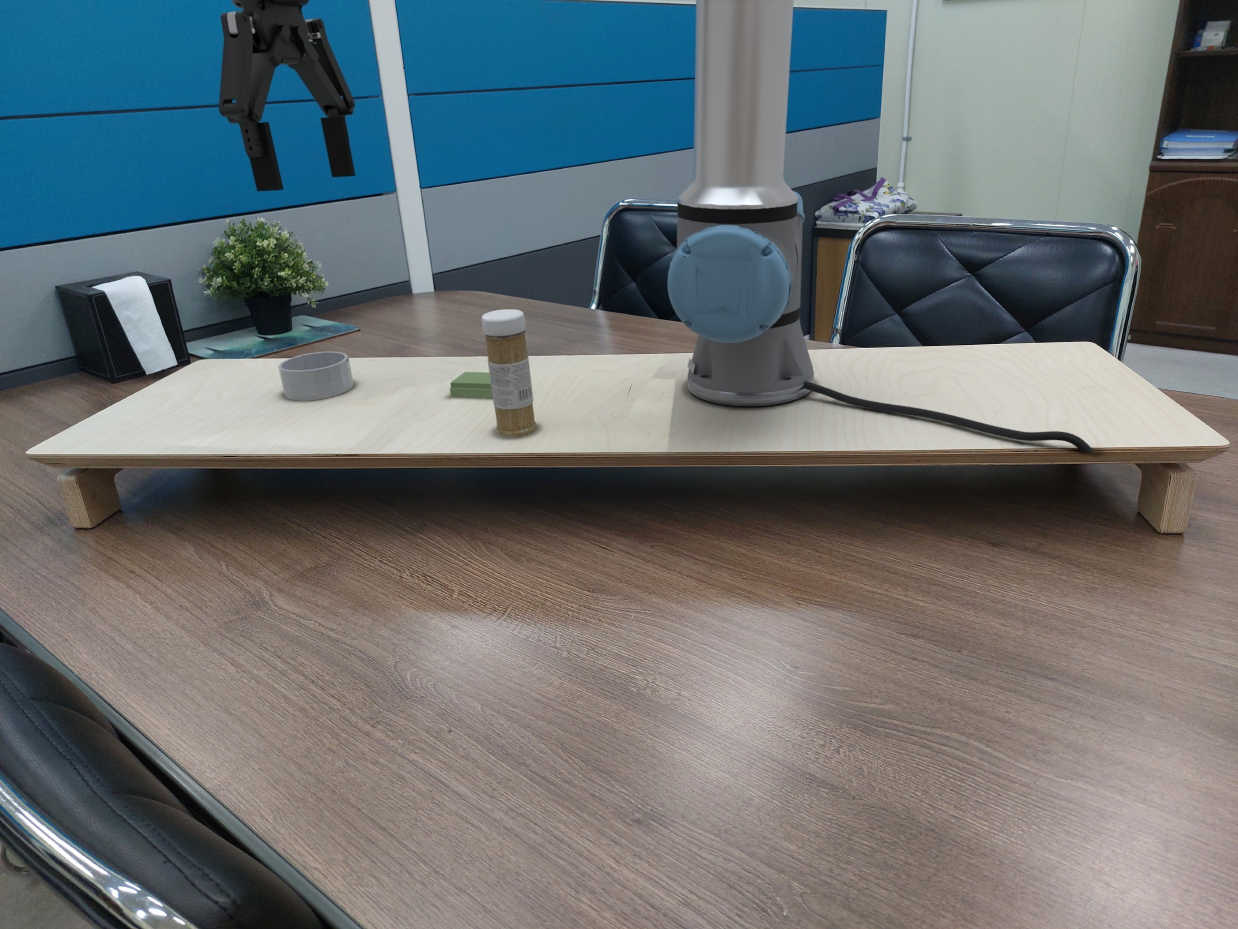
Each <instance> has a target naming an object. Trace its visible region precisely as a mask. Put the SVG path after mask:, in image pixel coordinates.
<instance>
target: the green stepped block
mask: <svg viewBox="0 0 1238 929" xmlns="http://www.w3.org/2000/svg"><path fill="white" fill-rule="evenodd" d="M449 384H450V387H449V391H450V397H451V398H467V399H468V398H469V399H493V396H492V388H491V381H490V373H489V371H488V372H487V371H486V372H485V371H484V372H483V371H464V372H463V373H461V374H460V375H458V376H457V377H456V378H455V379H453V380H452V381H450V383H449Z"/></svg>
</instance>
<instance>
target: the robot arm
mask: <svg viewBox="0 0 1238 929" xmlns="http://www.w3.org/2000/svg"><path fill="white" fill-rule="evenodd" d="M309 2H310V0H231V3H232V4H233V5H234V6H235V7H236V8H239V9H242V10H237V11H228V12H222V13H221V14H220V23H221V29H222V35H223V44H222V45H223V46H222V60H221V73H220V86H219V96H218V98H219V99H218V111H219V114H220V115H221V116H222V117H223V118H226V119H227V122H228V123H229V124H231V125H236V124H238V127H239V130H240V133H241V134H240V135H241V138H242V142H243V146H244V150H245V154H246V155H247V158H249V163H250V167H251V171H252V176H253V181H254V184H255V189H256V192H271V191H283V190H284V183H283V180H282V176H281V171H280V167H279V162H278V158H277V153H276V148H275V144H274V140H273V135H272V130H271V125H270V122H269V121H262V118H263V114H264V112H265V111H264V110H265V107H266V104H267V100H268V97H269V93H270V89H271V85H272V82H273V78H274V75H275V70H276V68H277V67H279V66H280V65H281V66H288V67H289V68H290V69H292V70H294V71H295V72H296V74H297V76H298V77H299V78H300V80H301V81H302V82H303V84H304V86H305V88H306V89H307V90H308V92H309V93H310V94H311V96H312V98H313V99H314V101H315V102H316V104H317V105H318V107H319V108H320V110H321V111H322V113H323V114H324V115H325V116H326V117H320V118H319V119H320V124H321V128H322V133H323V139H324V143H325V148H326V154H327V160H328V163H329V164H328V165H329V168H330V174H331V178H346V177H348V178H350V177H355V176H356V170H355V166H354V160H353V154H352V149H351V145H350V136H349V131H348V126H347V125H348V124H347V120H346V116H353V115H354V109H355V107H356V102H355V99H354V97H353V95H352V93H351V90H350V87H349V85H348V83H347V81H346V79H345V76H344V74H343V72H342V69H341V67H340V65H339V62H338V61H337V58H336V55H335V54H334V51H333V48H332V46H331V44H330V42H329V39H328V35H327V30H326V27H325V23H324V21H323V19H321V18H310V19H305V17H304V14H303V7H304V6H307V4H309ZM793 18H794V0H696V1H695V56H694V60H695V61H694V113H693V115H694V119H693V120H694V121H693V173H692V175H693V178H692V180H691V182H690V184H689V185H688V186H687V187H686V188H685V189H684V190H683V191H682V192H681V193H680V194H679V195H678V197H677V207H676V208H677V209H676V210H677V211H676V212H677V215H676V250H675V252H674V253H673V255H672V259H671V261H670V263H669V269H668V272H667V293H668V298H669V301H670V304H671V306H672V308H673V309H672V310H673V311H674V313H675V314H676V316H677V317H678V319H679V320H680V321H681V322H682V323H683V324H684V325H685V326H686V327H687V328H688V329H689V330H690V331H691V332H693V333H694V334H696V335H698V337H697V340H696V343H695V347H694V350H693V353H692V357H691V358H689V359H688V362H687V368H688V372H687V388H688V391H689V392H690V393H691V394H692V395H694V397H697V398H699V399H701V400H703V401H706V402H710V403H713V404H718V405H724V406H725V405H726V406H734V407H735V406H736V407H763V406H772V405H773V406H774V405H778V404H785V403H788V402H792V401H796V400H798V399H800V398H803V397H804V396H806V395H808V394H809V393H811V392H814V393H817V394H820V395H823V396H826V397H828V398H831V399H833V400H836V401H837V402H838V401H839V402H842V403H844V404H847V405H852V406H855V407H859V408H864V409H869V410H874V411H881V412H887V413H895V414H900V415H907V416H914V417H919V418H925V419H929V420H934V421H939V422H942V423H947V424H950V425H955V426H959V427H963V428H965V429H970V430H974V431H977V432H982V433H984V434H988V435H993V436H996V437H997V436H998V437H1001V438H1007V439H1012V440H1016V441H1024V442H1042V441H1043V442H1045V441H1061V442H1066V443H1069V444H1071V445H1072V446H1074V447H1075V448H1077V449H1078V450H1079V451H1080V452H1081V453H1084V454H1088V455H1089V454H1090V455H1091V454H1094V453H1095V452H1094V450H1093V448H1092V447H1091V446H1090V445H1089V443H1087V442H1086V441H1085V440H1084V439H1083V438H1081V437H1079V436H1077V434H1073V433H1070V432H1068V431H1067V432H1066V431H1061V430H1060V431H1059V430H1058V431H1057V430H1051V431H1050V430H1049V431H1021V430H1016V429H1012V428H1006V427H1001V426H997V425H993V424H990V423H989V424H988V423H983V422H981V421H977V420H973V419H969V418H966V417H961V416H957V415H953V414H949V413H946V412H945V413H944V412H940V411H936V410H930V409H925V408H920V407H913V406H907V405H902V404H901V405H899V404H893V403H886V402H879V401H874V400H868V399H864V398H859V397H856V396H852V395H848V394H845V393H842V392H839V391H837V390H834V389H832V388H828V387H826V386H823V385H819V384H816V383H814V382H815V381H814V380H815V379H814V378H815V371H814V366H813V362H812V360H811V356H810V352H809V350H808V347H807V343H806V340H805V339H806V338H805V336H804V333H803V329H802V327H801V299H802V298H801V296H802V258H803V257H802V255H803V224H804V223H805V220H806V219H805V218H806V217H805V213H804V203H803V202H804V201H803V198H802V196H801V195H800V193H798V192H797V191H794V190H792V189H791V188H790V186H789V185H788V184H787V183H786V180H785V179H784V172H785V171H784V170H785V169H784V168H785V155H786V154H785V152H786V134H787V118H788V104H789V102H788V100H789V98H788V97H789V84H790V83H789V82H790V70H791V69H790V67H791V64H790V63H791V50H792V33H793ZM233 101H235V102H233ZM261 121H262V122H261Z"/></svg>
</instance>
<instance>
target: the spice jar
mask: <svg viewBox="0 0 1238 929" xmlns="http://www.w3.org/2000/svg"><path fill="white" fill-rule="evenodd" d="M481 328H482V333H483V334H484V339H485V345H486V351H487V365H488V372H489V373H490V381H491V388H492V396H493V398H492V402H493V403H492V404H493V406H494V413H495V420H496V432H497V433H498V434H499V435H501V436H504V437H510V438H511V437H512V438H513V437H522V436H526V435H530V434H531V433H532V432H534V431H535V430H536V428H537V422H536V421H535V411H534V396H533V386H532V385H533V384H532V376H531V367H530V361H529V356H528V349H527V342H526V328H527V326H526V319H525V314H524V312H523V311H522V310H520V309H514V308H513V309H512V308H511V309H510V308H509V309H504V308H503V309H495V310H492V311H488V312H486V313H484V314H483V315H482V316H481Z"/></svg>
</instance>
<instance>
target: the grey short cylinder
mask: <svg viewBox="0 0 1238 929" xmlns="http://www.w3.org/2000/svg"><path fill="white" fill-rule="evenodd" d="M351 367H352V366H351V363H350V357H349V355H348V354H346V353H345V352H341V351H318V352H309V353H305V354H300V355H295V356H293V357H289V358H288V359H285V360H283V361H281V362H280V363H279V364H278V365H277V368H278V372H279V376H280V381H281V386H282V389H283V393H284V395H285V397H286V398H287V399H289V400H292V401H303V402H304V401H305V402H306V401H307V402H309V401H318V400H324V399H329V398H333V397H336V396H340V395H342V394H344V393H347V392H348V391H349V390H352V388H353V387H354V377H353V373H352V368H351Z"/></svg>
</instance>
